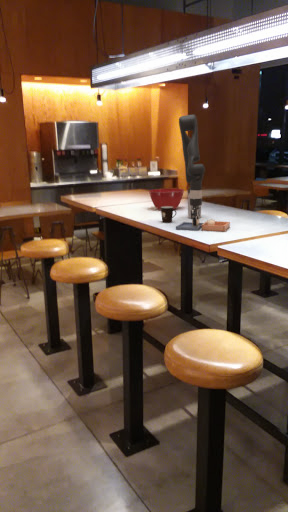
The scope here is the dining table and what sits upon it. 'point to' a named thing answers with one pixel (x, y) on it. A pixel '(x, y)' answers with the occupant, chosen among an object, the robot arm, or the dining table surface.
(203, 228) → the wooden tray
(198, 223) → the pebble
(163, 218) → the coffee mug
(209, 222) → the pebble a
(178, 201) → the mixing bowl
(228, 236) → the dining table surface
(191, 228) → the parts tray
